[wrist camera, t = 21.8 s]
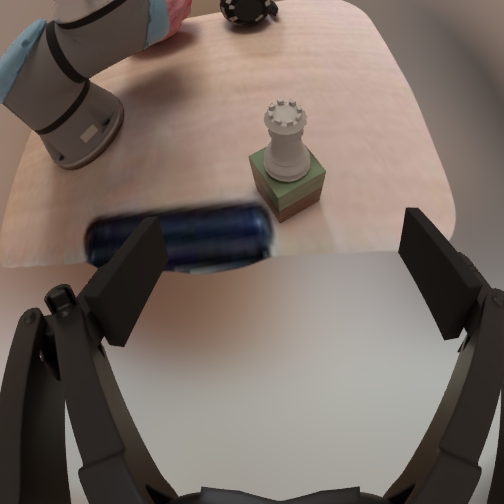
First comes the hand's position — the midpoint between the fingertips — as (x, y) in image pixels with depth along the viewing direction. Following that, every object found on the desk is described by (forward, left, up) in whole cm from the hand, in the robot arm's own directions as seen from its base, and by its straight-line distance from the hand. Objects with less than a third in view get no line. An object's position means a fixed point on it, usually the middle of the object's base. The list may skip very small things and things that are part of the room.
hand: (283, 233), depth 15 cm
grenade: (-40, +20, -12) cm, 47 cm away
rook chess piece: (-9, +6, -11) cm, 15 cm away
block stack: (-9, +6, -17) cm, 20 cm away
